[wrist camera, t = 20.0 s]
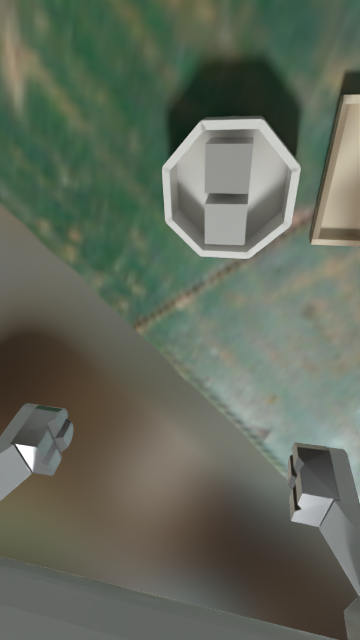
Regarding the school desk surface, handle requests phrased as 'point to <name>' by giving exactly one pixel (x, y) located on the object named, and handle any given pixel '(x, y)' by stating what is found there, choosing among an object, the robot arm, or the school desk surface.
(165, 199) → the bowl
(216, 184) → the grey rectangular block
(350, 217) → the tray
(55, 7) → the school desk surface
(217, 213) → the grey cube
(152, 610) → the robot arm
